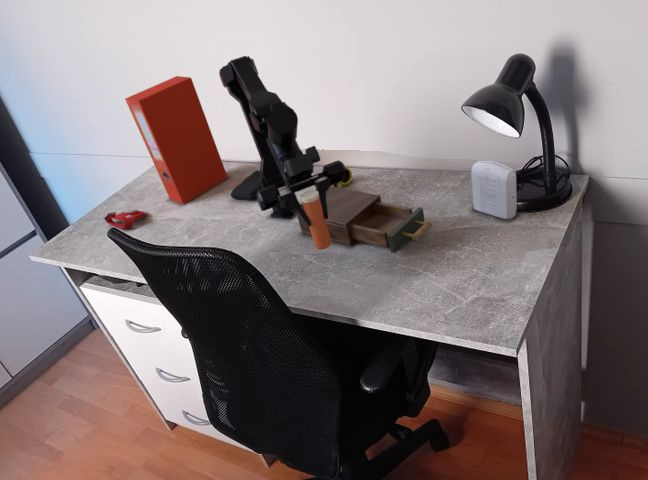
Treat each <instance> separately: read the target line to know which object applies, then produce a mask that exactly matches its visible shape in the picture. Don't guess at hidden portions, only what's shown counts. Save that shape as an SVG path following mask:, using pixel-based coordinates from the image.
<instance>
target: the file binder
mask: <svg viewBox="0 0 648 480" xmlns="http://www.w3.org/2000/svg"><path fill="white" fill-rule="evenodd" d="M195 87H196V86H195V84H194V82H193V79H192V77H189V76H178V75H176V76H173V77H171V78H169V79H167V80H164V81H162V82H160V83H157V84H155V85H153V86H151V87H148V88H146V89H144V90H142V91H138V92H137V93H134V94H132V95H130V96H128V97H126V98H124V100H125V102H126V104H127V106H128V109H129V112H130V113H131V115H132V118H133V120H134V122H135V124H136V127H137V129H138V131H139V133H140V135H141V138H142V140H143V142H144V145H145V147H146V149H147V151H148V153H149V156H150V158H151V160H152V163H153V164H154V167H155V169H156V171H157V174H158V175H159V178H160V180H161V182H162V185H163V187H164V189H165V191H166V194H167V196H168V199H169V200H170V201H173V202H175V203H178V204H181V205H185V204H187V203H189V202H191V201H192V200H194V199H196V198H197V197H199V196H200V195H202V194H204V193H205V192H207V191H209V190H210V189H212V188H214V187H215V186H217V185H218V184H220V183H222V182H224V181H225V180H227V179H228V175H227V172H226V169H225V166H224V164H223V160H222V158H221V155H220V153H219V149H218V147H217V145H216V142H215V138H214V136H213V133H212V131H211V128H210V125H209V123H208V120H207V117H206V115H205V112H204V108H203V106H202V104H201V101H200V98H199V95H198V93H197V89H196V88H195Z"/></svg>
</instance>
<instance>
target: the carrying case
mask: <svg viewBox="0 0 648 480" xmlns="http://www.w3.org/2000/svg"><path fill="white" fill-rule="evenodd" d="M260 178H261V175H260V173H259V170H254V171H253V172H252V173H250V175H248V176H247V177H246V178H245V179H243V180H242V181H241V182H240V183H238V184H237V185H236V186H235V187H234V188H233V189H232V190H231V192H230V197H231V198H232V199H234V200H240V201H252V202H253V201H256V200H257V192H258V190H259V189H261V187H260Z"/></svg>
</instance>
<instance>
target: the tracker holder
mask: <svg viewBox="0 0 648 480" xmlns="http://www.w3.org/2000/svg"><path fill="white" fill-rule="evenodd" d="M145 216H146V212H145V211H143V210H138V209H127V210H123V211H122V212H120V213H118V214H117V212H116V211H114V212H107V213H106V214H105V215H104V216H103V218H102V220H104V221H105V222H106V224H108V225H109V226H112V227H115V228H118V229H119V230H126V229H127V230H128V229H131V228H132V227H133V225H134V223H135V222H136V221H137V220H139V219H141V218H144V217H145ZM114 220H116V221H114ZM117 221H120V222H123V223H124V224H123V223H119V222H117Z"/></svg>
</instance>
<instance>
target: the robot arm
mask: <svg viewBox="0 0 648 480" xmlns="http://www.w3.org/2000/svg"><path fill="white" fill-rule="evenodd" d="M218 73H219V79H220V81H221V83H222V87H223V88H226V89H227V92H228V94H229V96H230V97H231V98H233V99H234V100H235V101H237V102H238V104H239V105H240V108H241V111H242V114H243V117H244V118H245V121H246V124H247V126H248V129H249V132H250V134H251V136H252V139H253V142H254V144H255V147H256V150H257V152H258V155H259V159H260V164H259V169H258V171H259V173H260V175H261V178H260V187H261V189H259V190H258V192H257V199H256V200H257V204H258V206H259V208H260V211H261V212H266V211H268V210H270V209H272V213H271V214H270V218H279V219H291V218H292V217H293V216H294V215H296V217H297V216H298V217H299V218H300V219H301V220H302V221H303V222H304V223H305V224H306V225H307V226H308V227H310V226H311V224H310V222H309V219H308V217H307V215H306V214H305V212H304V210H303V209H302V208H303V204H301V203H300V202H299V200H298V198H297V195H296V193H298V192H300V191H303V190H305V189H308V188H311V187H313V186H314V188H315V190H316V191H318V193H319V198H320V201H321V205H322V209H323V212H324V216H325V219H326V220H327V219H328V211H327V202H326V191H328V190H329V186H331V185H334V184H336V183H339V182H341V181H343V180H344V177H345V174H346V171H347V170H346V168H345V167H346V166H345V163H344V162H343V161H341V160H339V159H338V160H335V161H333V162H330V163H327V164H323V167H322V171H321V172H318V173H316V174H314V169H315V166H314V164H316V163H319V162H321V157H320V154H319V151H318V149H317V147H316V146H315V145H312V146H309V147H307V148H306V149H305V150H304V151H305V153H304V152H303V150H302V149H301V147H300V146H299V145H300V144H299V143H298V141H297V137H298V125H299V119H298V114H297V112H295V110H294V109H293V108H292V107H291V106H289V105H288V104H287V103H286V102H285V101H282V99H281V98H280V96H279V95H278V94H277V93H276V92H273V91H269V90H268V89H267V88H266V86H265V84H264V83H263V81H262V80H261V78H260V76H259V71H258V68H257V66H256V63H255V61H254V58H251V57H250V56H248V55H247V56H246V55H244V56H240V57H237V58H234V59H231V60H230V61H229V62H227V64H226V65H224V66H222V67H221V68H220V69H219V72H218ZM298 217H297V218H298Z"/></svg>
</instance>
